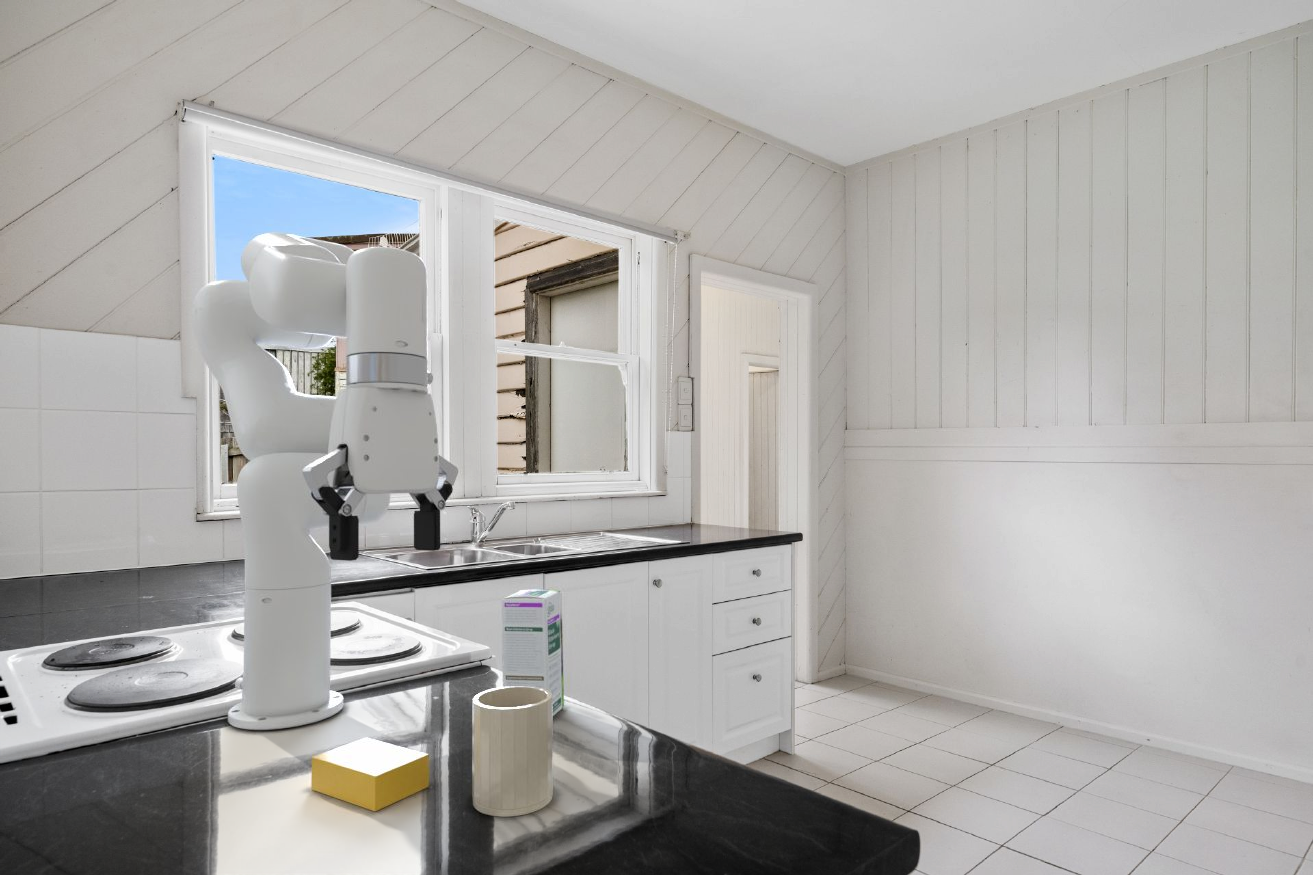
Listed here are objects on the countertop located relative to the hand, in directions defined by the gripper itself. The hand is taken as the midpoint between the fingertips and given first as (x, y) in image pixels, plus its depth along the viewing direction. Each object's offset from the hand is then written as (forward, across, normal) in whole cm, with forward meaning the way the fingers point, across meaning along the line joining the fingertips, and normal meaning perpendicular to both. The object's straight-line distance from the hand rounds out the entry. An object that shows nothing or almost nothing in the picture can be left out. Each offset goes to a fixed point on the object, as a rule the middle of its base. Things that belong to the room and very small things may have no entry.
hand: (387, 554), depth 73 cm
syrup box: (+21, -22, -1) cm, 31 cm away
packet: (+21, +2, 0) cm, 21 cm away
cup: (+22, -3, +13) cm, 25 cm away
